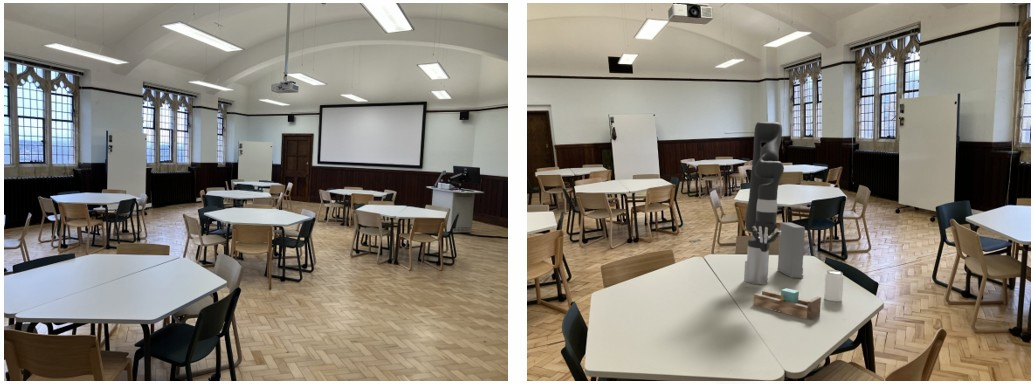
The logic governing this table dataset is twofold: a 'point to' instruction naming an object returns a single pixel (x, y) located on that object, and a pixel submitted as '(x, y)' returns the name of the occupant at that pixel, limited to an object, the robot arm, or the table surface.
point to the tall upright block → (791, 249)
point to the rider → (790, 295)
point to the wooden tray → (788, 305)
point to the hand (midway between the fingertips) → (764, 251)
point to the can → (833, 286)
